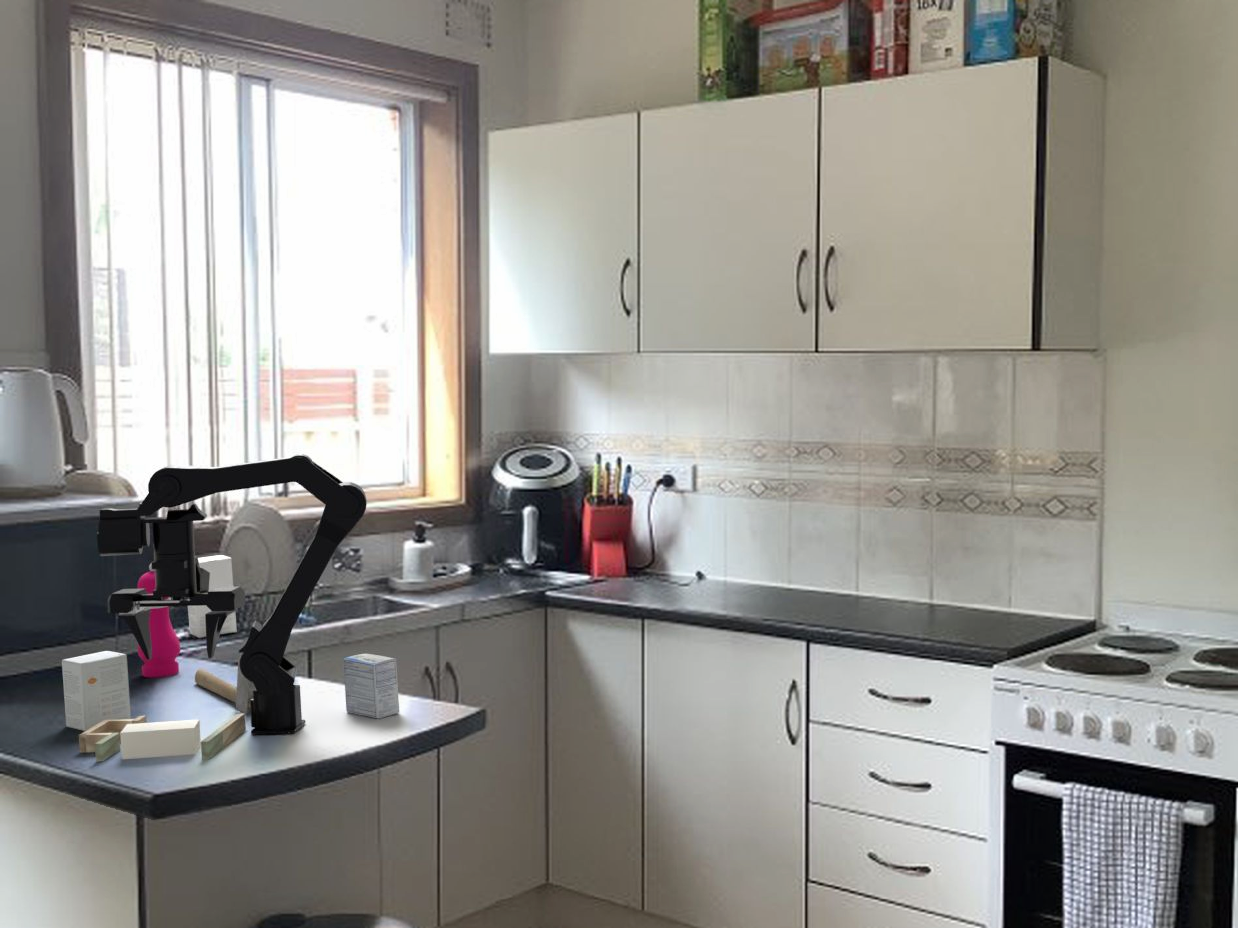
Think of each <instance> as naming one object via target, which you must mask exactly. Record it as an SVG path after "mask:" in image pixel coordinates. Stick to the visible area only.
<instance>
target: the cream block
mask: <svg viewBox="0 0 1238 928" xmlns="http://www.w3.org/2000/svg"><path fill="white" fill-rule="evenodd" d="M200 721H201V720H200V719H199V718H198V719H186V720H185V719H184V720H173V721H172V720H171V721H155V722H154V721H153V722H147V723H138V724H127V725H126V726H125V728H124V729H123V730H122V731H121V732H120V737H121V743H120V752H121V760H130V759H131V760H132V759H133V760H134V759H147V758H148V759H149V758H160V757H172V756H173V757H174V756H175V757H176V756H187V755H189V756H190V755H196V754H197V753H198V751H199V750H200V749H201V741H202V739H201V724H200Z"/></svg>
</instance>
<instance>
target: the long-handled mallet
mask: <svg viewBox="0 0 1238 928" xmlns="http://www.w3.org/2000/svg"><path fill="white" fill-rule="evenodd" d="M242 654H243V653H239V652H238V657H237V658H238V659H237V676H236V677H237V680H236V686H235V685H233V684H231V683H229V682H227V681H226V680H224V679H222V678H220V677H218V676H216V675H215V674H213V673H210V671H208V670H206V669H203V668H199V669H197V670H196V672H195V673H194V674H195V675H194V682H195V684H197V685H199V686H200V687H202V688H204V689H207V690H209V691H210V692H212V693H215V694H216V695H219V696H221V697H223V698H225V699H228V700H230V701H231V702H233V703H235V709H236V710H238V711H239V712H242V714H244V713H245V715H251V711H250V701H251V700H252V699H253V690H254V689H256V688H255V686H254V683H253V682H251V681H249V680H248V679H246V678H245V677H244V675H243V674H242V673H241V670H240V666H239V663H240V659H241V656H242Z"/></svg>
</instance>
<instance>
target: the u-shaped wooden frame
mask: <svg viewBox="0 0 1238 928" xmlns="http://www.w3.org/2000/svg"><path fill="white" fill-rule="evenodd" d="M138 723H148V722H147V715H139V716H137V717H135V718H131V719H113V720H103V721H102V722H100V723H98V724H97V725H95V726H93V727H92V728H90V729H88V730H87V731H83V732H82V733H80V734H78V745H79V753H80V754H81V753H95V762H104V761H106V760H107V759H109V758H111V756H113V755H115V754H116V753H118V752H119V751H121V737H120V732H121V731H122V730H123V729H124V728H125V726H126V725H127V724H138ZM246 730H247V727H246V714H245V713H237V714H236V715H234V716H233V717H232V718H230V719H229V720H227V722H224V723H223V724H222V725H221V726H219V727H218V728H217V729H216V730H214V731H212V733H210V734H209V735H208V736H206V737H205V738H204V739H201V746H200V749H201V751H200V752H201V760H210V759H211V758H213V757H214V756H215V755H217V754H218V753H219V752H220V751H222V750H223V749H224V748H225V747H226V746H228V745H229V744H230V743H231V742H233V741H234V740H235V739H237V738H238V737H239V736H240V735H241V734H243V733H244V732H245V731H246Z"/></svg>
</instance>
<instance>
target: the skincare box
mask: <svg viewBox="0 0 1238 928" xmlns="http://www.w3.org/2000/svg"><path fill="white" fill-rule="evenodd" d="M198 560H199V567H200V568H203V569H205V570H206V571H208V572H210V579H209V591H210V590H213V589H215V588H217V587H234V577H233V561H232V560H233V558H232V557H230V556H227V555H223V554H219V555H210V556H203V557H198ZM210 611H211V610H210V609H209V608H208V607H207V605H203V606H187V612H188V613H187V615H188V626H189V634H190V635H191V636H194V637H196V638H199V639H200V638H201V639H202V638H206V621H205V614H207V613H208V612H210ZM237 632H238V630H237V617H236V611H235V612H233V613H232V614H230V615H228V616H227V618H226V620H225V622H224V624H223V627H222V629H221V632H220V635H225V634H233V633H237Z"/></svg>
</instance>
